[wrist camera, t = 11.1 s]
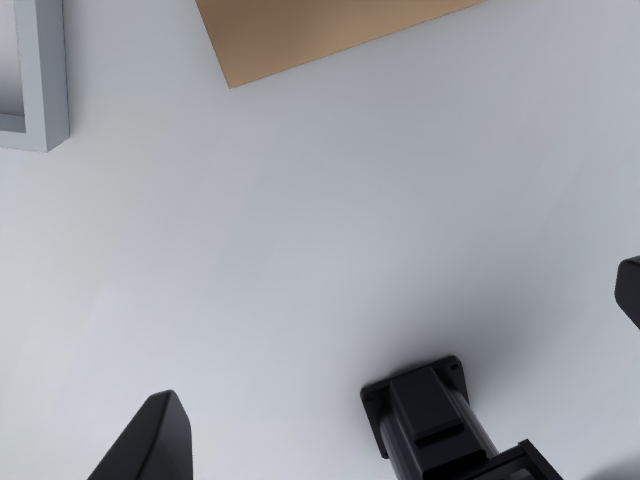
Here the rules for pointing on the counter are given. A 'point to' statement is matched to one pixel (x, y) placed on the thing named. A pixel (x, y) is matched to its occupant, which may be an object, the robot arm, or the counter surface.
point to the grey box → (39, 79)
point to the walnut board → (304, 29)
